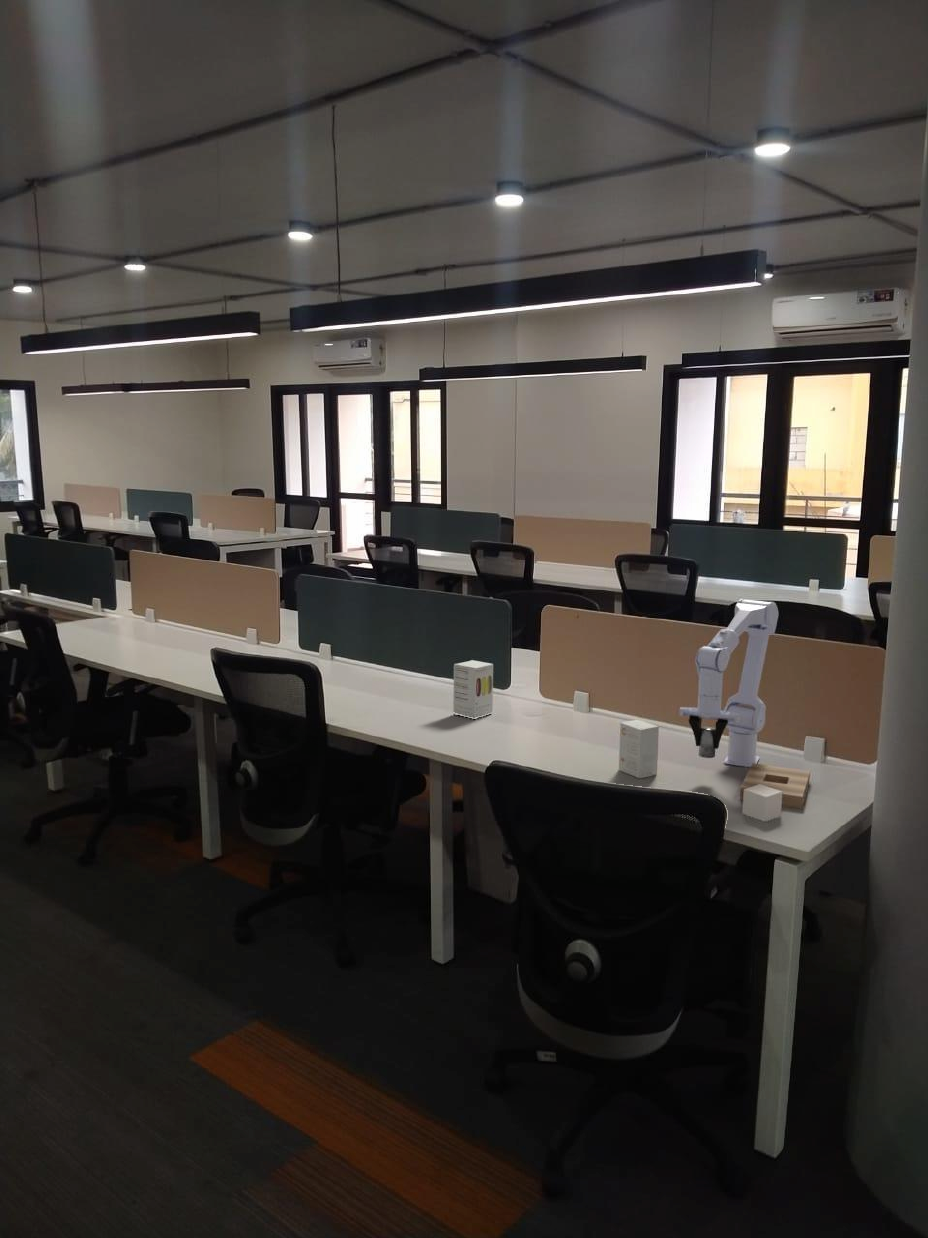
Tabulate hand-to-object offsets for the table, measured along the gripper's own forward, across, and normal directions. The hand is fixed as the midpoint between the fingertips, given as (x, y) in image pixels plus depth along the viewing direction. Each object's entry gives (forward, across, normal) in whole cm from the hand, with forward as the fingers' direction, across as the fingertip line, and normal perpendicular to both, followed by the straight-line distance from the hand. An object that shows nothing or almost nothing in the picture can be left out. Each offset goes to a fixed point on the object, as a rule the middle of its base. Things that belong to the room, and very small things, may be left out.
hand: (707, 746), depth 225 cm
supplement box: (+9, -79, +29) cm, 85 cm away
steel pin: (+2, 0, 0) cm, 2 cm away
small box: (+9, -17, -2) cm, 19 cm away
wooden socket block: (+9, +17, 0) cm, 19 cm away
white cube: (+9, +16, -18) cm, 26 cm away
